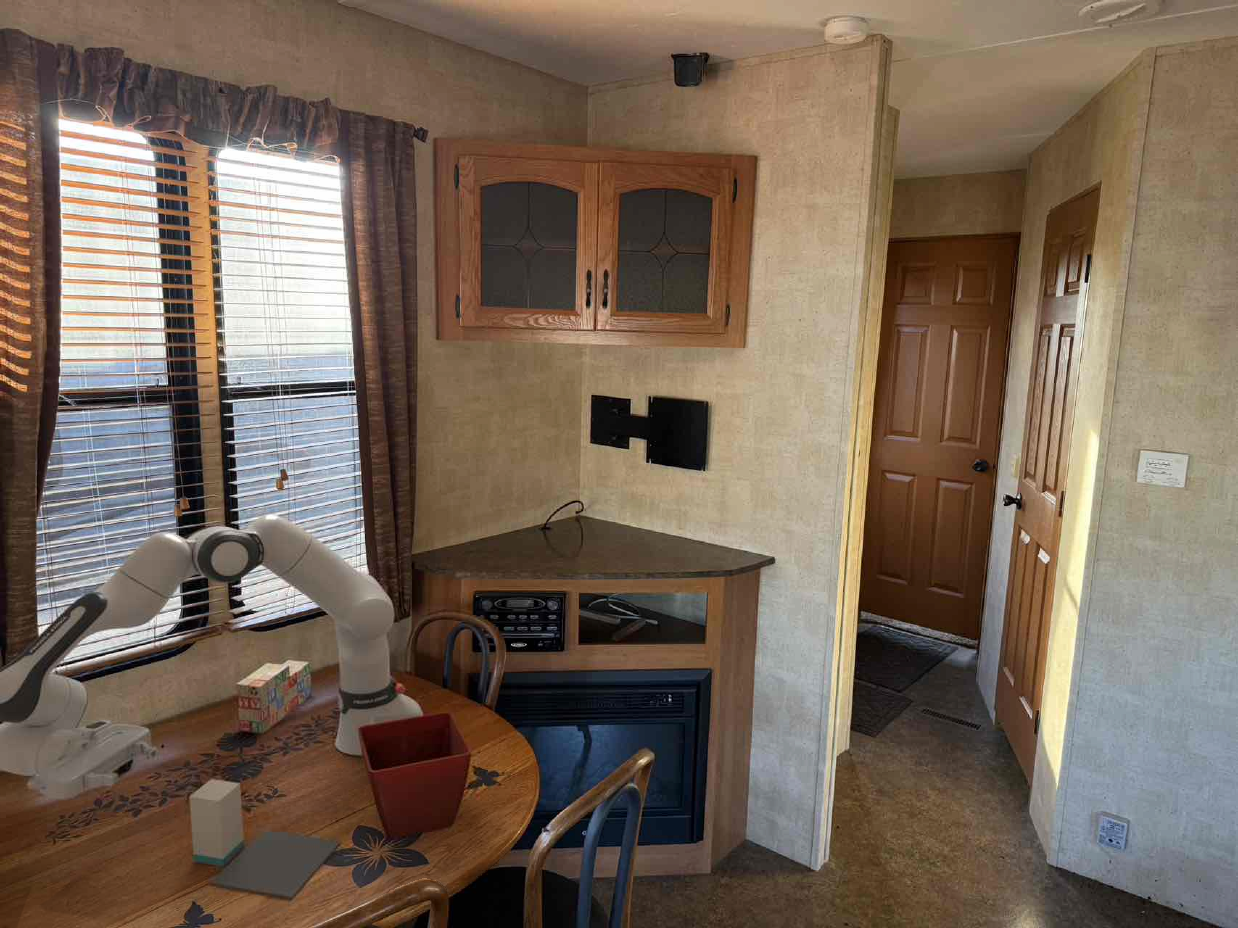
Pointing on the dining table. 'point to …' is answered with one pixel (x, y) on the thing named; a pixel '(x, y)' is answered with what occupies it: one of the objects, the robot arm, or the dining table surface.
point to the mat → (276, 864)
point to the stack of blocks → (272, 694)
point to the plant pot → (416, 772)
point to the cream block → (216, 822)
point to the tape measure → (123, 767)
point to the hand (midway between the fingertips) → (135, 766)
